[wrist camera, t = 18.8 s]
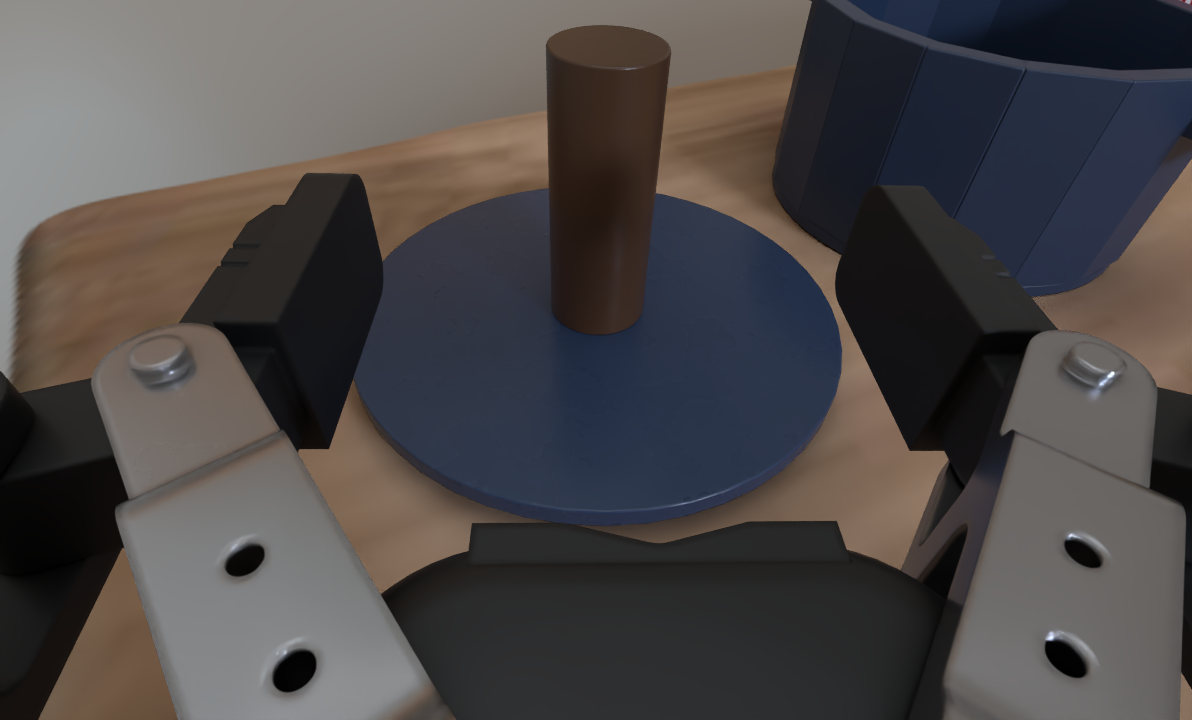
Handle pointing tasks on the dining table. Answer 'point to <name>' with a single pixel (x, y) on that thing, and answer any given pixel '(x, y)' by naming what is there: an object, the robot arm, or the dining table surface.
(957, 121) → the pot
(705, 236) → the lid
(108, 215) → the dining table surface
